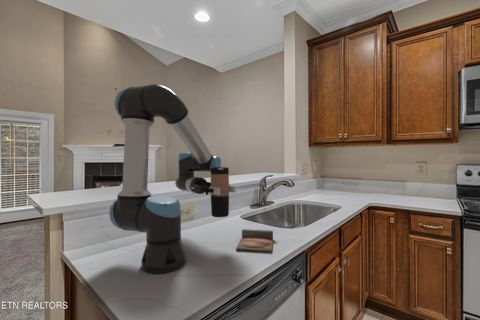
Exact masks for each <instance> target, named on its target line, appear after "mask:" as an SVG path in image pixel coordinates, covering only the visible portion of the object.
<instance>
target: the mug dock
mask: <svg viewBox="0 0 480 320" xmlns="http://www.w3.org/2000/svg"><path fill="white" fill-rule="evenodd" d="M273 241H274V230H266V229H249V228H248V229H246V228H244V229H243V228H242V229H241V238H240V239H239V242H238V244H237V246H236V248H235V251H237V252H248V253H249V252H250V253H261V254H262V253H263V254H272V250H273V243H274V242H273Z"/></svg>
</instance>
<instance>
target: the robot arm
mask: <svg viewBox="0 0 480 320" xmlns="http://www.w3.org/2000/svg"><path fill="white" fill-rule="evenodd" d="M114 109H115V111H116V113H117V114H118V116H119V117H120V122H121V123H122V124H123V125H124V127H125V128H124V147H123V148H124V149H123V164H122V165H123V166H122V168H123V169H122V170H123V171H122V189H121V191H119V192H118V193H117V195H116V196H117V198H116V199H115V200H114V201H113V202H112V203H113V204H111V206H110V207H109V220H110V222H111V224H112V225H113V226H114V227H115V228H118V229H120V230H124V231H129V232H138V233H139V232H140V233H145V234H146V235H145V236H146V238H145V239H146V244H145V248H144V250H143V251H144V252H143V255H142V257H141V269H142V271H143V272H146V273H148V274H156V275H157V274H158V275H160V274H166V273H170V272H174V271H177V270H179V269H181V268H183V267H184V266H185V265H186V263H187V253H186V251H185V248H184V245H183V242H182V225H181V224H182V222H181V221H182V219H181V218H182V217H181V216H182V215H181V214H182V209H181V202H180V201H179V199H177V198H176V197H172V196H168V195H154V196H153V195H152V193H151V192H150V191H149V189H148V180H149V179H148V177H149V176H148V175H149V151H150V150H149V149H150V129H151V127H152V126H154V124H155V118H158V117H159V118H162V119H163V120H164V121H165V123H167V124H168V125H171V127H172V128H173V129H174V131H175V132H176V134H177V135H178V136H179V137H180V139H181V140H182V142H183V143H184V145H185V146H186V148H187V149H188V151H189V152H180V153H179V154H178V176H177V178H176V180H175V181H174V182H175V186H176V188H177V189H178V190H180V191H182V192H189V193H192V194H194V195H195V194H198V195H202V194H204V193H205V196H208V195H209V194H210V195H211V194H216V195H220V188H217V187H211V181H207V180H206V179H205V178H203V177H198V176H195V172H201V173H202V172H207V173H211V168H215V167H222V160H221V158H220V156H217V155H212V152H210V149H209V148H208V146H207V144H206V143H205V141H204V140H203V138H202V136H201V134H200V133H199V131H198V129H197V128H196V126H195V125H194V123H193V121H192V119H191V118H190V117H189V109H188V107H187V106H186V104H185V102H184V101H183V100H182V99H181V98H180V97H179V96H178V95H177V94H176V92H174V91H172V90H171V89H170V88H168V87H167V86H164V85H162V84H157V83H154V84H147V85H141V86H130V87H127V88H124V89H121V90H120V91H119V92H117V94H116V96H115V99H114ZM236 190H237V189H236V185H232V184H231V185H230V184H229V193H234V194H235V193H236V192H237V191H236Z"/></svg>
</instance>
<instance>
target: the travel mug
mask: <svg viewBox="0 0 480 320" xmlns="http://www.w3.org/2000/svg"><path fill="white" fill-rule="evenodd" d="M229 172H230V171H229V167H227V166H226V167H223V166H221V167H215V168H211V172H210V183H211V187H217V188H220V195H216V194H211V193H210V203H211V204H210V205H211V206H210V208H211V216H212V217H213V218H225V217H228V216H229V213H230V212H229V211H230V210H229V208H230V192H229V185H230V181H229V180H230V178H229V177H230V176H229V175H230V173H229Z"/></svg>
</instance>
